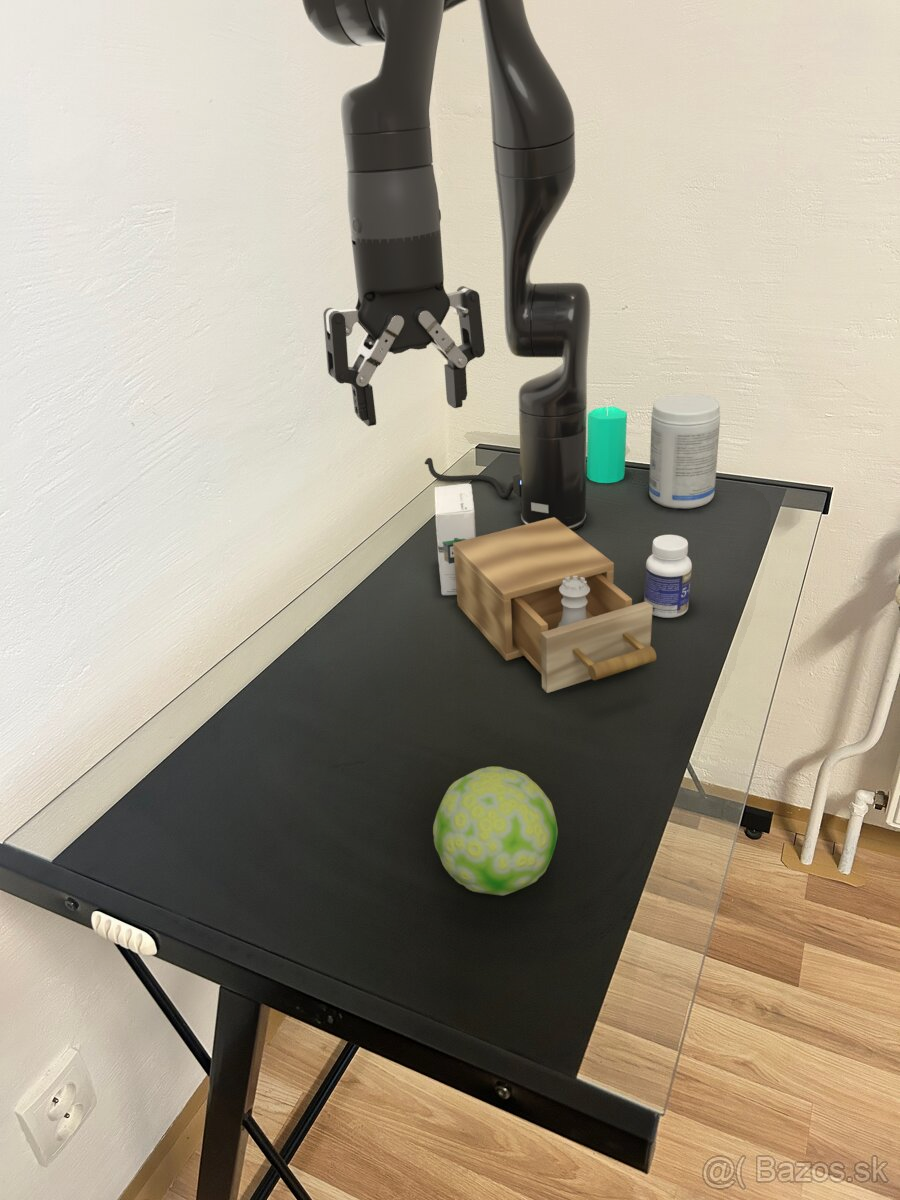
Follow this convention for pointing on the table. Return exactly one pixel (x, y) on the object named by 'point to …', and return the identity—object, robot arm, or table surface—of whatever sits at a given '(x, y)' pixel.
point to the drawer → (582, 634)
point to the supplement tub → (684, 450)
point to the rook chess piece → (573, 600)
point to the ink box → (452, 528)
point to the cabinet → (518, 572)
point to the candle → (606, 444)
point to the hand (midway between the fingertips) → (412, 414)
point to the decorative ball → (495, 831)
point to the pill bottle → (668, 576)
